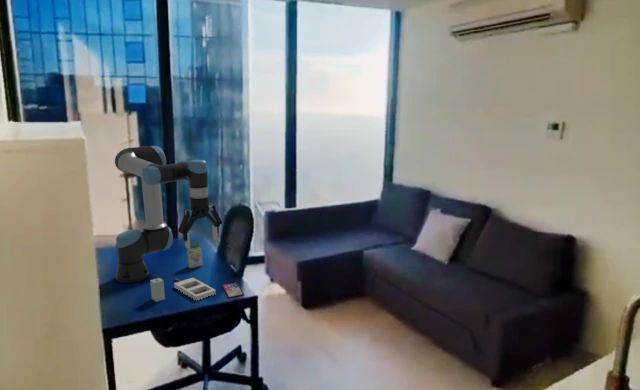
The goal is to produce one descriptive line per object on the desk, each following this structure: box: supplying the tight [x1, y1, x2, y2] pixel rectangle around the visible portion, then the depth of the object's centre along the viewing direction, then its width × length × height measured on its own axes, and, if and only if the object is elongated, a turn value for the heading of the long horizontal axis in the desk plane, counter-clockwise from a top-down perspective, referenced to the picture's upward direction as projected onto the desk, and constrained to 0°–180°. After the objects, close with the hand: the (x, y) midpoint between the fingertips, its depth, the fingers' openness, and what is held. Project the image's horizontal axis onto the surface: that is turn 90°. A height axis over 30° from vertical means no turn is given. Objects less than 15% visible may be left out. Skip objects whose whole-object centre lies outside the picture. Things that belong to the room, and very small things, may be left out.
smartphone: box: [221, 282, 245, 299], centre depth 213 cm, size 8×1×15 cm
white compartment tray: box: [173, 277, 217, 302], centre depth 215 cm, size 28×10×2 cm, turn 45°
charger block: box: [149, 277, 166, 303], centre depth 203 cm, size 4×4×9 cm
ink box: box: [186, 240, 204, 269], centre depth 240 cm, size 7×4×13 cm, turn 120°
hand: (201, 244), depth 197 cm, fingers open, 13 cm apart
